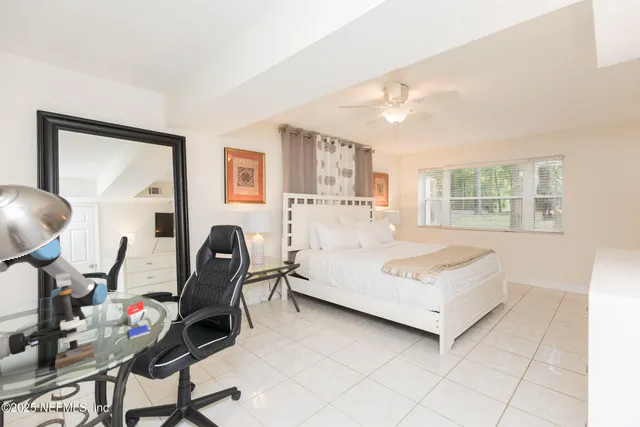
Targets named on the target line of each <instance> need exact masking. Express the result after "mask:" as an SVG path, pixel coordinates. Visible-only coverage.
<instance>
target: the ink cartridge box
mask: <svg viewBox="0 0 640 427" xmlns="http://www.w3.org/2000/svg"><path fill="white" fill-rule="evenodd" d="M135 306H136V307H135ZM125 309H126V314H127V324H128V326H134V325H136V324H138V323H140V322H141V321H144V320H146V319H148V318H149V316H148V309H147V308H144V304H143V300H140V301H139V302H136V303H133V304H131V305H129V306H127V307H126V308H125ZM147 317H148V318H147Z"/></svg>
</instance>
